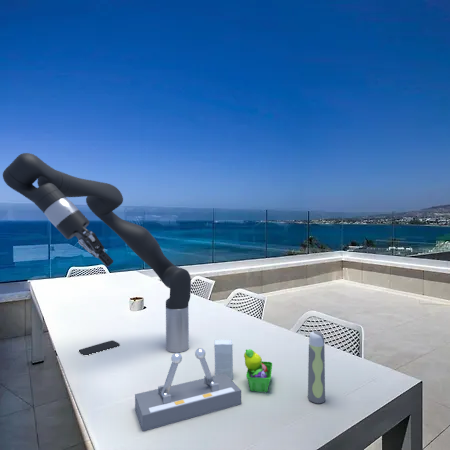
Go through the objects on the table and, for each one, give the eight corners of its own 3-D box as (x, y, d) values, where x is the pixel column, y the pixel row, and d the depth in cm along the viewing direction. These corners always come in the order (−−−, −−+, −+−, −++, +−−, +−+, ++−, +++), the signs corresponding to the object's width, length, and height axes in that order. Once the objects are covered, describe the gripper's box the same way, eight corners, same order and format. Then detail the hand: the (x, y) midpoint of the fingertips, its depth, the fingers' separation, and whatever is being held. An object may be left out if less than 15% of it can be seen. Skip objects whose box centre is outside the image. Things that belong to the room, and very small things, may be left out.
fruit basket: (271, 395, 98) (271, 358, 98) (242, 392, 100) (241, 356, 99) (272, 377, 109) (272, 343, 109) (246, 374, 111) (246, 342, 111)
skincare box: (232, 373, 112) (232, 339, 111) (232, 380, 107) (232, 344, 107) (214, 374, 111) (214, 339, 111) (214, 380, 107) (214, 344, 107)
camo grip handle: (306, 394, 98) (306, 329, 98) (323, 395, 98) (323, 329, 97) (309, 403, 93) (309, 334, 93) (326, 404, 93) (326, 335, 92)
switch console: (135, 408, 92) (134, 387, 91) (225, 386, 103) (225, 367, 103) (142, 431, 82) (142, 407, 82) (241, 403, 94) (241, 383, 93)
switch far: (205, 385, 97) (191, 349, 95) (214, 379, 98) (200, 344, 96) (210, 391, 93) (196, 354, 91) (219, 386, 94) (205, 349, 92)
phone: (77, 350, 131) (112, 339, 142) (77, 352, 131) (112, 341, 142) (84, 355, 126) (120, 344, 137) (84, 357, 126) (120, 346, 137)
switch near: (156, 393, 91) (171, 349, 92) (166, 394, 92) (181, 351, 93) (160, 400, 87) (175, 354, 89) (170, 401, 88) (185, 356, 90)
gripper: (80, 203, 86) (125, 251, 88) (77, 216, 97) (117, 259, 99) (55, 220, 82) (102, 270, 84) (55, 231, 93) (97, 276, 96)
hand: (110, 264), depth 92 cm, fingers closed
